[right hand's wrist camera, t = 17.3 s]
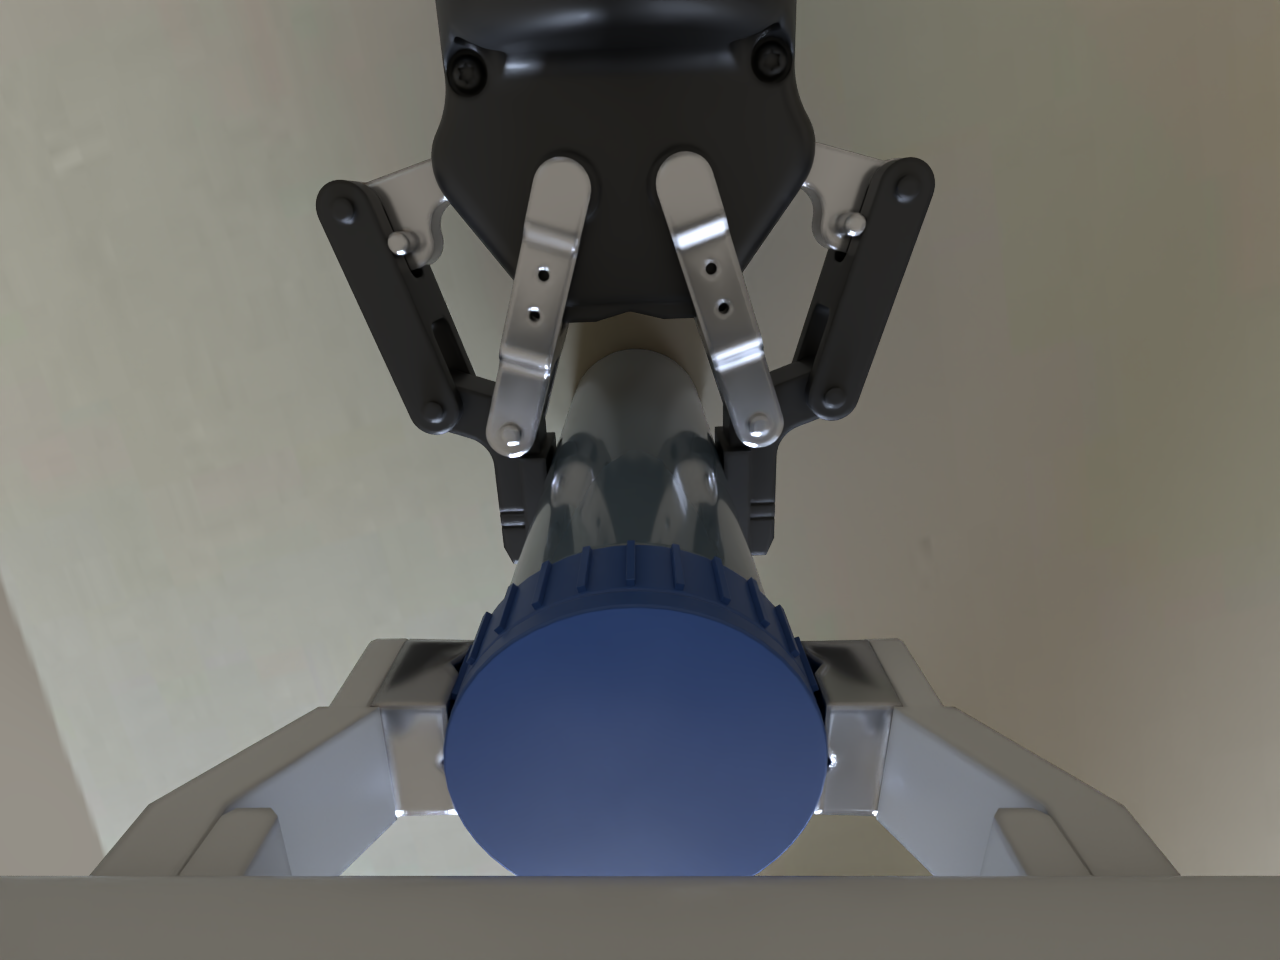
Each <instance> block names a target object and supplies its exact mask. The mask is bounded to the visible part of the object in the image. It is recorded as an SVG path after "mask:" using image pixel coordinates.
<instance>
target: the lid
mask: <svg viewBox="0 0 1280 960" xmlns="http://www.w3.org/2000/svg"><path fill="white" fill-rule="evenodd" d="M818 690H819V688H818V685H817V683H816V680H815V677H814V675H813V672H812V670H811V667H810V664H809V662H808V659H807V657H806V654H805V651H804V649H803V646H802V643H801V641H800V638H799V637H796V638H794V636H793V633H792V631H791V628H790V625H789V623H788V620H787V617H786V615H785V612H784V609H783V608H782V607H781V605H778V606H776V607H774V605H773V604H772V603H771V602H770V601H769V600H768V599H767V598H766V597H765V595H764V594H763V593H762V592H761V591H760V590H759V587H758V584H757V581H756V580H755V579H753V578H752V577H751V578H750V579H749V580H748V581H747V580H746V579H745V578H743V577H742V576H740V575H738V574H737V573H735V572H734V571H732V570H731V569H729V568H727V567H725V566H723V564H722V560H721V559H720V558H718V557H716V556H714V558H713V559H712V560H710V559H708V558H706V557H703V556H700V555H696V554H693V553H690V552H687V551H684V550H680V545H678V544H672V545H671V548H668V547H663V546H651V545H635V540H627V545H619V546H610V547H604V548H598V549H592V550H591V547H590V546H586V547H583V548H582V553H579V554H575V555H572V556H569V557H567V558H564V559H562V560H560V561H558V562H555V563H553V564H551V563H550V561H549V560H548V561H546V562H544V563H542V566H541V569H540V571H538V572H537V573H535V574H533V575H532V576H530V577H528V578H527V579H526V580H525V581H523V582H522V583H521V584H520V585H518V586H517V585H515V584H514V583H512V584H511V585H510V586H509V587H508V590H507V592H506V595H505V598H504V600H503V601H502V602H501V603H500V604H499V605H498V606H497V608H496V609H495V610H494V612H493V613H492V614H490V613H488V612H486V613H485V615H484V616H483V618H482V621H481V624H480V626H479V629H478V632H477V634H476V637H475V640H474V642H473V645H470V647H469V650H468V652H467V654H466V656H465V658H464V661H463V663H462V666H461V669H460V671H459V676H458V678H457V680H456V683H455V685H454V688H453V690H452V699H453V700H455V703H454V705H453V708H452V711H451V714H450V717H449V721H448V724H447V727H446V732H445V739H444V746H443V759H444V772H445V777H446V783H447V788H448V791H449V794H450V797H451V799H452V802H453V805H454V808H455V810H456V811H457V813H458V815H459V817H460V819H461V821H462V822H463V824H464V826H465V827H466V829H467V830H468V831H469V833H470V834H471V835H472V837H473V838H474V839H475V841H476V842H477V843H478V844H479V845H480V846H481V847H482V848H483V849H484V850H485V851H486V852H487V853H488V854H489V855H490V856H491V857H492V858H493V859H494V860H496V861H497V862H498V863H499V864H501V865H502V866H503V867H505V868H506V869H507V870H509V871H510V872H512V873H513V874H515V875H517V876H754V875H755V874H757V873H759V872H760V871H762V870H763V869H764V868H766V867H767V866H768V865H770V864H771V863H772V862H774V861H775V860H776V859H777V858H778V857H779V856H780V855H782V854H783V853H784V852H785V851H786V850H787V849H788V848H789V847H790V846H791V845H792V844H793V842H794V841H795V840H796V839H797V837H798V836H799V835H800V834H801V832H802V831H803V830H804V828H805V827H806V825H807V823H808V822H809V820H810V818H811V817H812V815H813V813H814V811H815V809H816V807H817V804H818V802H819V799H820V797H821V794H822V791H823V787H824V782H825V778H826V773H827V763H828V745H827V736H826V730H825V726H824V722H823V719H822V715H821V712H820V709H819V706H818V704H817V701H816V698H815V696H814V693H813V692H815V691H818Z"/></svg>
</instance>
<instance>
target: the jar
mask: <svg viewBox="0 0 1280 960" xmlns="http://www.w3.org/2000/svg"><path fill="white" fill-rule="evenodd" d="M627 540H635V545H651V546H663V547H668V548H671V545H672V544H678V545H680V550H684V551H687V552H690V553H693V554H696V555H700V556H703V557H706V558H708V559H710V560H712V559H713V558H714V556H716V557H718V558H720V559H721V560H722V564H723V566H725V567H727V568H729V569H731V570H732V571H734V572H735V573H737V574H738V575H740V576H742V577H743V578H745V579H746V580H747V581H748V580H749V579H750V578H751V577H752V578H753V579H755V580H756V581H757V584H758V587H759V590H760V591H761V592H762V593H763V594H764V595H765V593H764V590H763V587H762V584H761V581H760V578H759V575H758V572H757V569H756V566H755V563H754V560H753V557H752V554H751V551H750V548H749V545H748V542H747V539H746V536H745V533H744V530H743V527H742V524H741V521H740V518H739V515H738V512H737V509H736V506H735V503H734V500H733V497H732V494H731V491H730V488H729V485H728V482H727V479H726V476H725V473H724V470H723V467H722V464H721V461H720V458H719V455H718V452H717V449H716V446H715V443H714V440H713V437H712V434H711V431H710V428H709V425H708V422H707V419H706V416H705V413H704V410H703V407H702V404H701V401H700V398H699V395H698V393H697V390H696V387H695V385H694V383H693V381H692V380H691V378H690V377H689V375H688V374H687V372H686V371H685V370H684V369H683V368H682V367H681V366H680V365H679V364H677V363H676V362H675V361H674V360H672V359H670V358H669V357H667V356H665V355H663V354H660V353H658V352H654V351H651V350H645V349H628V350H622V351H618V352H615V353H612V354H610V355H607V356H606V357H604V358H602V359H600V360H599V361H598V362H596V363H595V364H594V365H593V366H592V367H591V368H590V369H589V370H588V371H587V372H586V373H585V374H584V376H583V377H582V379H581V380H580V382H579V384H578V386H577V389H576V391H575V394H574V397H573V400H572V403H571V406H570V409H569V412H568V415H567V417H566V420H565V423H564V426H563V429H562V432H561V435H560V438H559V441H558V444H557V447H556V450H555V453H554V456H553V459H552V462H551V465H550V468H549V471H548V474H547V477H546V480H545V483H544V486H543V489H542V492H541V495H540V498H539V501H538V504H537V506H536V509H535V512H534V515H533V518H532V521H531V524H530V527H529V530H528V533H527V536H526V539H525V542H524V545H523V548H522V551H521V554H520V557H519V560H518V563H517V566H516V569H515V572H514V575H513V578H512V581H511V584H512V583H514V584H515V585H517V586H518V585H520V584H521V583H522V582H523V581H525V580H526V579H527V578H528V577H530V576H532V575H533V574H535V573H537V572H538V571H540V569H541V566H542V563H544V562H546V561H548V560H549V561H550V563H551V564H553V563H555V562H558V561H560V560H562V559H564V558H567V557H569V556H572V555H575V554H579V553H582V548H583V547H586V546H590V547H591V550H592V549H598V548H604V547H610V546H619V545H627ZM511 584H510V585H511ZM765 597H766V596H765Z"/></svg>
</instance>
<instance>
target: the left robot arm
mask: <svg viewBox="0 0 1280 960" xmlns="http://www.w3.org/2000/svg"><path fill="white" fill-rule="evenodd" d="M435 1H436V9H437V17H438V25H439V34H440V42H441V50H442V58H443V66H444V73H445V83H446V96H445V105H444V111H443V115H442V119H441V122H440V125H439V128H438V130H437V132H436V135H435V138H434V141H433V145H432V154H431V159H429V160H426V161H423V162H421V163H418V164H415V165H412V166H410V167H407V168H404V169H402V170H399V171H396V172H394V173H391V174H388V175H386V176H383V177H380V178H378V179H375V180H372V181H369V182H357V181H347V180H335V181H331V182H329V183H327V184H326V185H324V186H323V187H322V189H321V190H320V191H319V193H318V196H317V199H316V211H317V215H318V218H319V220H320V222H321V224H322V226H323V229H324V231H325V233H326V235H327V237H328V240H329V242H330V244H331V246H332V248H333V250H334V253H335V255H336V257H337V259H338V261H339V263H340V266H341V268H342V270H343V272H344V274H345V276H346V279H347V281H348V283H349V285H350V287H351V289H352V292H353V294H354V296H355V298H356V300H357V302H358V305H359V307H360V309H361V311H362V313H363V315H364V318H365V320H366V322H367V324H368V326H369V328H370V331H371V333H372V335H373V337H374V339H375V341H376V344H377V346H378V348H379V350H380V352H381V355H382V357H383V359H384V361H385V363H386V365H387V368H388V370H389V372H390V374H391V376H392V378H393V381H394V383H395V385H396V387H397V389H398V391H399V394H400V396H401V398H402V400H403V402H404V404H405V407H406V409H407V411H408V413H409V415H410V417H411V419H412V421H413V423H414V424H415V425H416V426H417V427H418V428H419V429H420V430H422V431H424V432H426V433H429V434H434V435H438V434H444V433H446V432H451V433H454V434H458V435H461V436H464V437H468V438H471V439H474V440H476V441H478V442H479V443H481V444H482V445H483V446H484V447H485V448H486V449H487V450H488V451H489V452H490V454H491V456H492V458H493V461H494V466H495V475H496V483H497V492H498V500H499V508H500V517H501V525H502V534H503V542H504V548H505V550H506V551H507V553H508V555H509V557H510V558H511V560H512V562H513V564H515V563H518V560H519V557H520V554H521V551H522V548H523V545H524V542H525V539H526V536H527V533H528V530H529V527H530V524H531V521H532V518H533V515H534V512H535V509H536V506H537V504H538V501H539V498H540V495H541V492H542V489H543V486H544V483H545V480H546V477H547V474H548V471H549V468H550V465H551V462H552V459H553V456H554V453H555V450H556V437H555V432H549V433H546V421H545V416H546V413H547V409H548V405H549V401H550V397H551V392H552V388H553V384H554V380H555V376H556V372H557V368H558V363H559V359H560V356H561V352H562V349H563V346H564V342H565V338H566V334H567V330H568V326H569V323H574V322H596V321H600V320H603V319H606V318H609V317H612V316H615V315H619V314H622V313H625V312H636V313H640V314H645V315H649V316H653V317H658V318H662V319H673V318H694V320H695V323H696V326H697V329H698V331H699V334H700V337H701V340H702V343H703V345H704V348H705V351H706V354H707V357H708V360H709V363H710V366H711V369H712V372H713V375H714V378H715V381H716V384H717V387H718V390H719V393H720V396H721V399H722V402H723V426H720V427H715V446H716V449H717V452H718V455H719V458H720V461H721V464H722V467H723V470H724V473H725V476H726V479H727V482H728V485H729V488H730V491H731V494H732V497H733V500H734V503H735V506H736V509H737V512H738V515H739V518H740V521H741V524H742V527H743V530H744V533H745V536H746V539H747V542H748V545H749V548H750V551H751V554H752V555H766V554H767V551H768V549H769V547H770V545H771V543H772V541H773V539H774V516H775V486H776V455H777V449H778V446H779V443H780V441H781V440H782V438H783V437H784V436H785V435H786V434H787V433H788V432H789V431H791V430H792V429H794V428H796V427H798V426H800V425H803V424H806V423H808V422H811V421H813V420H816V419H819V418H821V419H824V420H829V421H834V420H839V419H842V418H844V417H846V416H847V415H848V414H850V413H851V412H852V411H853V409H854V408H855V407H856V404H857V402H858V400H859V397H860V394H861V391H862V389H863V386H864V383H865V380H866V378H867V375H868V372H869V369H870V367H871V364H872V361H873V358H874V356H875V353H876V350H877V347H878V345H879V342H880V339H881V336H882V333H883V331H884V328H885V325H886V322H887V320H888V317H889V314H890V311H891V309H892V306H893V303H894V300H895V298H896V295H897V292H898V289H899V287H900V284H901V281H902V278H903V276H904V273H905V270H906V267H907V265H908V262H909V259H910V256H911V254H912V251H913V248H914V245H915V243H916V240H917V237H918V234H919V232H920V229H921V226H922V223H923V221H924V218H925V215H926V212H927V210H928V207H929V204H930V201H931V199H932V196H933V193H934V188H935V179H934V174H933V172H932V170H931V168H930V167H929V165H928V164H927V163H926V162H924V161H923V160H921V159H918V158H913V157H908V158H894V159H889V160H884V161H883V160H879V159H875V158H872V157H868V156H865V155H861V154H857V153H854V152H850V151H846V150H843V149H839V148H835V147H832V146H828V145H825V144H821V143H817V142H815V135H814V130H813V127H812V124H811V122H810V119H809V117H808V115H807V114H806V112H805V110H804V107H803V105H802V103H801V100H800V97H799V93H798V89H797V85H796V79H795V31H796V0H435ZM800 189H802V190H803V191H805V192H806V193H807V195H808V196H809V197H810V199H811V201H812V205H813V219H812V232H813V235H814V237H815V239H816V241H817V242H818V243H819V244H820V245H821V246H823V247H825V248H828V252H827V255H826V258H825V261H824V265H823V268H822V271H821V274H820V277H819V280H818V283H817V286H816V289H815V292H814V296H813V299H812V302H811V305H810V308H809V311H808V314H807V317H806V320H805V323H804V327H803V330H802V333H801V336H800V339H799V342H798V345H797V348H796V351H795V355H794V358H793V361H792V363H791V364H788V365H786V366H783V367H781V368H778V369H776V370H773V371H771V372H769V369H768V365H767V362H766V359H765V355H764V351H763V342H762V338H761V334H760V331H759V328H758V324H757V321H756V318H755V314H754V311H753V308H752V305H751V301H750V298H749V295H748V291H747V288H746V285H745V281H744V278H743V275H742V272H743V271H744V269H745V268H746V266H747V265H748V264H749V262H750V261H751V259H752V258H753V256H754V255H755V253H756V252H757V250H758V249H759V248H760V246H761V245H762V243H763V242H764V240H765V239H766V237H767V236H768V235H769V233H770V232H771V230H772V229H773V227H774V226H775V224H776V223H777V222H778V220H779V219H780V217H781V216H782V214H783V213H784V211H785V210H786V209H787V207H788V206H789V204H790V203H791V201H792V200H793V198H794V197H795V196H796V194H797V193H798V191H799V190H800ZM450 204H451V205H452V206H453V207H454V208H455V210H456V211H457V212H458V213H459V215H460V216H461V217H462V218H463V219H464V221H465V222H466V223H467V224H468V225H469V227H470V228H471V229H472V230H473V232H474V233H475V234H476V235H477V236H478V238H479V239H480V240H481V241H482V242H483V244H484V245H485V246H486V247H487V249H488V250H489V251H490V252H491V253H492V255H493V256H494V257H495V258H496V259H497V261H498V262H499V263H500V264H501V266H502V267H503V268H504V269H505V270H506V272H507V273H508V274H509V275H510V276H511V278H512V279H513V280H514V283H513V288H512V293H511V297H510V302H509V307H508V312H507V317H506V321H505V326H504V331H503V336H502V341H501V346H500V352H499V359H500V364H499V369H498V374H497V379H496V382H494V381H490V380H487V379H484V378H481V377H478V376H476V375H475V373H474V370H473V368H472V365H471V363H470V361H469V358H468V356H467V353H466V351H465V349H464V346H463V344H462V341H461V339H460V337H459V334H458V332H457V329H456V327H455V325H454V322H453V320H452V317H451V315H450V313H449V310H448V308H447V305H446V303H445V301H444V298H443V296H442V293H441V291H440V289H439V286H438V284H437V281H436V279H435V277H434V274H433V272H432V269H431V267H430V265H431V264H433V263H434V262H436V261H437V260H438V259H439V257H440V255H441V253H442V251H443V245H444V242H443V236H442V232H441V218H442V215H443V212H444V211H445V209H446V208H447V207H448V206H449V205H450Z"/></svg>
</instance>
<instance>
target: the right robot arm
mask: <svg viewBox="0 0 1280 960" xmlns="http://www.w3.org/2000/svg"><path fill="white" fill-rule="evenodd" d="M473 642H474V640H441V639H409V640H408V639H375V640H373V641H371V642H370V643H369V644H368V646H367V647H366V649H365V651H364V652H363V654H362V655H361V657H360V659H359V660H358V662H357V663H356V665H355V666H354V668H353V670H352V671H351V673H350V674H349V676H348V677H347V679H346V681H345V682H344V684H343V685H342V687H341V688H340V690H339V692H338V693H337V695H336V696H335V698H334V699H333V701H332V703H331V704H330V706H329V707H317V708H316V709H314V710H312V711H311V712H309V713H307V714H305V715H304V716H302V717H300V718H298V719H297V720H295V721H293V722H291V723H290V724H288V725H286V726H284V727H283V728H281V729H279V730H277V731H276V732H274V733H272V734H271V735H269V736H267V737H265V738H264V739H262V740H260V741H258V742H257V743H255V744H253V745H251V746H250V747H248V748H246V749H244V750H243V751H241V752H239V753H238V754H236V755H234V756H232V757H231V758H229V759H227V760H225V761H224V762H222V763H220V764H218V765H217V766H215V767H213V768H211V769H210V770H208V771H206V772H204V773H203V774H201V775H199V776H198V777H196V778H194V779H192V780H191V781H189V782H187V783H185V784H184V785H182V786H180V787H178V788H177V789H175V790H173V791H171V792H170V793H168V794H166V795H164V796H163V797H161V798H159V799H158V800H156V801H154V802H152V803H151V804H149V805H148V806H147V807H146V808H145V809H144V811H143V812H142V813H141V814H140V815H139V817H138V818H137V819H136V820H135V821H134V823H133V824H132V825H131V826H130V827H129V829H128V830H127V831H126V832H125V833H124V835H123V836H122V837H121V838H120V839H119V841H118V842H117V843H116V844H115V845H114V847H113V848H112V849H111V850H110V851H109V853H108V854H107V855H106V856H105V857H104V859H103V860H102V861H101V862H100V863H99V865H98V866H97V867H96V868H95V869H94V871H93V872H92V873H91V874H90V875H89V876H0V960H1280V876H1181V875H1180V874H1179V873H1178V871H1177V870H1176V869H1175V868H1174V867H1173V865H1172V864H1171V863H1170V862H1169V860H1168V859H1167V858H1166V857H1165V855H1164V854H1163V853H1162V852H1161V851H1160V849H1159V848H1158V847H1157V846H1156V844H1155V843H1154V842H1153V841H1152V839H1151V838H1150V837H1149V836H1148V835H1147V833H1146V832H1145V831H1144V830H1143V828H1142V827H1141V826H1140V825H1139V823H1138V822H1137V821H1136V820H1135V819H1134V817H1133V816H1132V815H1131V814H1130V812H1129V811H1128V810H1127V809H1126V808H1125V806H1124V805H1122V804H1120V803H1118V802H1117V801H1115V800H1113V799H1112V798H1110V797H1108V796H1106V795H1105V794H1103V793H1101V792H1100V791H1098V790H1096V789H1094V788H1093V787H1091V786H1089V785H1088V784H1086V783H1084V782H1082V781H1081V780H1079V779H1077V778H1075V777H1074V776H1072V775H1070V774H1069V773H1067V772H1065V771H1063V770H1062V769H1060V768H1058V767H1057V766H1055V765H1053V764H1051V763H1050V762H1048V761H1046V760H1045V759H1043V758H1041V757H1039V756H1038V755H1036V754H1034V753H1033V752H1031V751H1029V750H1027V749H1026V748H1024V747H1022V746H1021V745H1019V744H1017V743H1015V742H1014V741H1012V740H1010V739H1009V738H1007V737H1005V736H1003V735H1002V734H1000V733H998V732H997V731H995V730H993V729H991V728H990V727H988V726H986V725H985V724H983V723H981V722H979V721H978V720H976V719H974V718H973V717H971V716H969V715H967V714H966V713H964V712H962V711H961V710H959V709H957V708H955V707H944V706H943V704H942V703H941V701H940V700H939V698H938V696H937V695H936V693H935V692H934V690H933V688H932V687H931V685H930V684H929V682H928V680H927V679H926V677H925V676H924V674H923V673H922V671H921V669H920V668H919V666H918V665H917V663H916V661H915V660H914V658H913V657H912V655H911V653H910V652H909V650H908V649H907V647H906V645H905V644H904V642H903V641H901V640H900V639H898V638H889V639H864V640H832V641H801V643H802V646H803V649H804V651H805V654H806V657H807V659H808V662H809V664H810V667H811V670H812V672H813V675H814V677H815V680H816V683H817V685H818V688H819V690H818V691H815V692H813V693H814V696H815V698H816V701H817V704H818V706H819V709H820V712H821V715H822V719H823V722H824V726H825V730H826V736H827V745H828V763H827V773H826V778H825V782H824V787H823V791H822V794H821V797H820V799H819V802H818V804H817V807H816V809H815V811H814V814H824V815H860V816H876V819H877V820H878V821H879V822H880V823H881V824H882V825H883V826H884V827H885V828H886V829H887V830H888V831H889V832H890V833H891V834H892V835H893V836H894V837H895V838H896V839H897V840H898V841H899V842H900V843H901V844H902V845H903V846H904V847H905V848H906V849H907V850H908V851H909V852H910V853H911V854H912V855H913V856H914V857H915V858H916V859H917V860H918V861H919V862H920V863H921V864H922V865H923V866H924V867H925V868H926V869H927V870H928V871H929V872H930V873H931V874H932V875H933V876H340V875H341V874H342V873H343V872H344V871H345V870H346V869H347V868H348V867H349V866H350V865H351V864H352V863H353V862H354V861H355V860H356V859H357V858H358V857H359V856H360V855H361V854H362V853H363V852H364V851H365V850H366V849H367V848H368V847H369V846H370V845H371V844H372V843H373V842H374V841H375V840H376V839H378V838H379V837H380V836H381V835H382V834H383V833H384V832H385V831H386V830H387V829H388V828H389V827H390V826H391V825H392V824H393V823H394V822H395V821H396V820H397V816H413V815H447V814H458V813H457V811H456V810H455V808H454V805H453V802H452V799H451V797H450V794H449V791H448V788H447V783H446V777H445V772H444V759H443V746H444V739H445V732H446V727H447V724H448V721H449V717H450V714H451V711H452V708H453V705H454V703H455V700H453V699H452V690H453V688H454V685H455V683H456V680H457V678H458V676H459V671H460V669H461V666H462V663H463V661H464V658H465V656H466V654H467V652H468V650H469V647H470V645H473Z"/></svg>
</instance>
